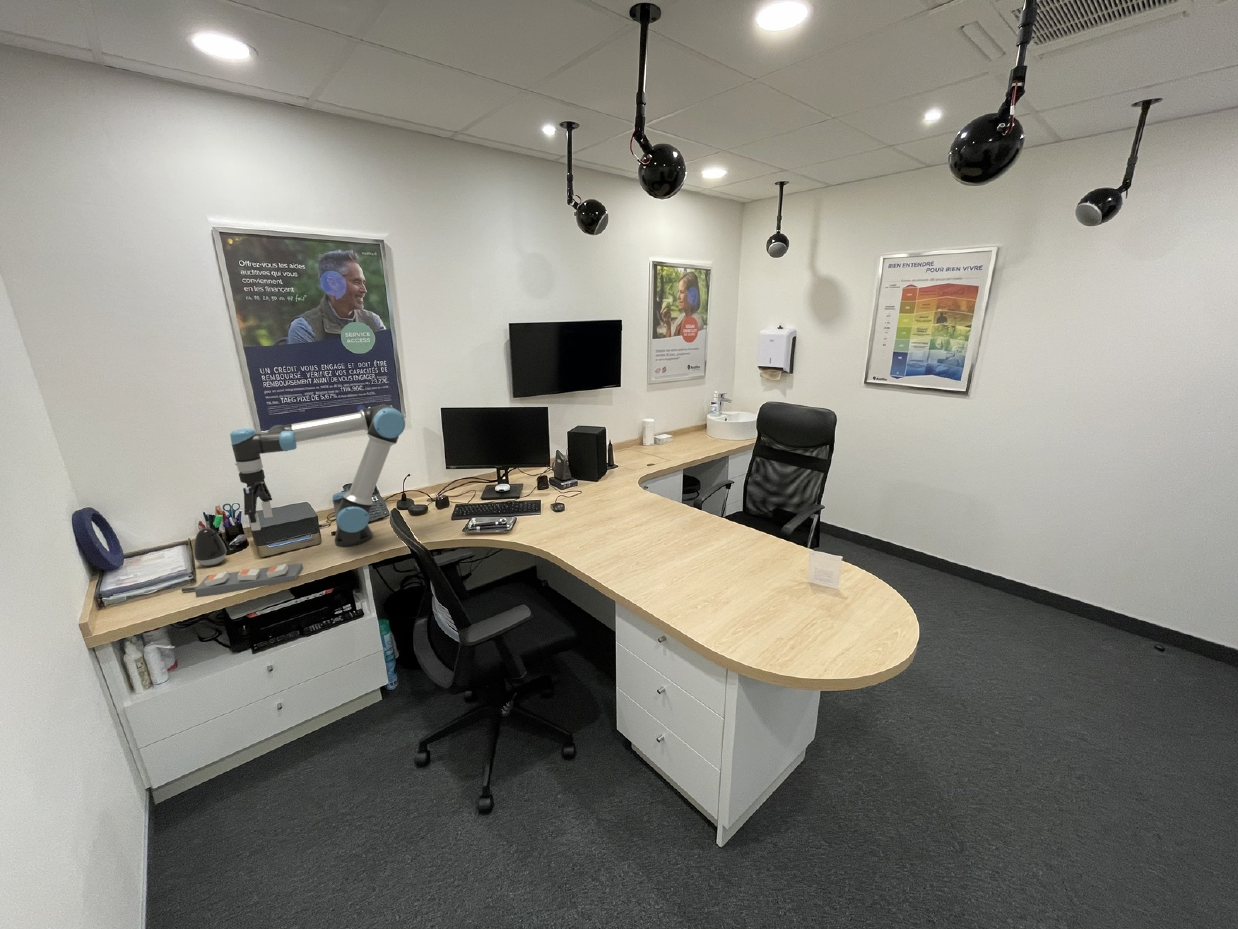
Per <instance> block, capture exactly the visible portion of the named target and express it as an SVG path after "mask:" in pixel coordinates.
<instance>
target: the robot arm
mask: <svg viewBox="0 0 1238 929" xmlns="http://www.w3.org/2000/svg"><path fill="white" fill-rule="evenodd" d="M405 428H406V419H405V418H404V415H403V413H402V412H400V411H399V410H398V409H396V407H394V406H392V405H388V404H380V405H376V406H372V407H369V408H367V407H366V408H362V409H360V411H358V412H354V413H348V414H342V415H335V416H332V417H331V416H330V417H326V418H320V419H313V420H307V421H302V422H295V423H290V424H285V425H282V424H277V425H274V426H272V427H270V428H269V429H268V431H267V432H265V433H257V432H256V431H255V429H253V428H241V429H235V430H232V431H231V432H230V435H229V436H230V442H231V443H230V444H231V447H232V451H233V455H234V459H235V463H234V465H235V466H236V467H237V472H239V473H238V476H239V480H240V483H242V484H246V487H243V489H242V491H243V499H244V500H243V502H244V503H243V504H244V507H243V509H244V516H248V520H249V526H250V529H251V531H254V532H255V531H261V530H262V528H261V527H262V526H261V524H260V519H259V514H258V512H257V502H258V498H259V499H260V500H261V502H260V503H261V507H262V508H261V509H262V512H263V517H264V519H266V518H267V519H268V518H273V517H274V515H273V510H272V506H271V502H270V501H273V498H272V494H271V493H270V490H269V488H268V486H267V484H266V482H265V478H266V476H265V472H264V469H263V468H264V466H263V462H262V458H261V455H263V454H271V453H278V452H280V453H281V452H289V451H294V450H296V449H297V443H298V442H300V443H301V442H305V441H309V440H310V441H311V440H316V439H320V438H327V437H331V436H336V435H342V434H349V433H353V432H359V431H363V430H364V431H366V432H367V436H368V438H369V439H368V442H367V443H366V444H367V445H366V447H365V449H364V452H363V455H362V457H361V460H360V463H359V465H358V467H357V470H356V472H355V473H356V474H355V476H354V478H353V481H352V484H351V487H350V488H349V490H346V491H341V492H336V493H334V494H333V495H332V504H333V510H334V515H335V523H336V531H335V535H334V545H335V546H336V547H338V548H349V547H356V546H359V545H362V544H365V543H368V542H369V541H370V540H372V538H374V535H373V532H372V529H371V527H370V526H369V524H368V523H369V522H370V515H369V514H370V512H371V509H372V508H373V505H374V502H373V500H372V496H373V494H374V491H375V489H376V486H377V484H378V481H379V479H380V475H381V473H382V471H383V468H384V466H385V463H386V460H387V457H388V455H389V452H390V450H391V447H392V446H393V445H396V444H397V443H398V440H399V437H400V436H401V435H402V434H403V433H404V430H405Z"/></svg>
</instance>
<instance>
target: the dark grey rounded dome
mask: <svg viewBox="0 0 1238 929" xmlns="http://www.w3.org/2000/svg"><path fill="white" fill-rule="evenodd" d="M227 551H228V550H227V547H226V545H225V543H224V541H223V540H222V538H221V537H220V535H219V533H218V531H217V530H214V529H212V528H210V527H206V528H202V529H200V530H198V532H197V533H196V536H195V538H194V546H193V556H194V560H195V561H196V562H197V564H198V565H202V566H209V567H210V566H211V567H212V566H215V565H217V564H220V563H222V562H223V561H224V559H225V558H226V555H227Z"/></svg>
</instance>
